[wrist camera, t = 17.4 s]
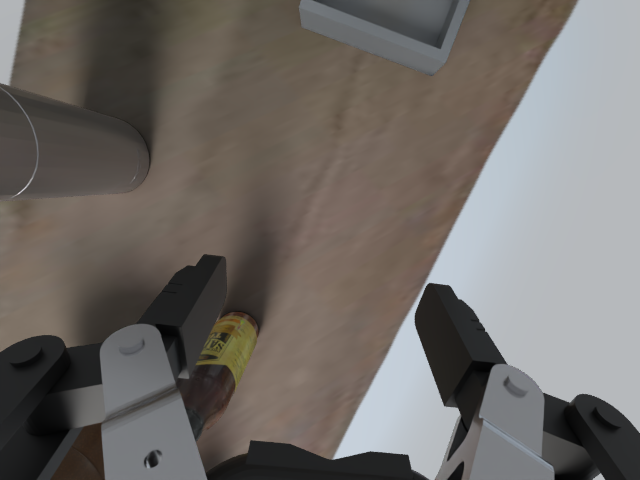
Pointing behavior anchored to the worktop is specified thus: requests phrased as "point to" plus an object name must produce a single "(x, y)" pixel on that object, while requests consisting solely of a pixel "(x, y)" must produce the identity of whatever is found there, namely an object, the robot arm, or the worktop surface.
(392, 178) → the worktop surface
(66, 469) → the plant pot
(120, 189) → the robot arm
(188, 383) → the sauce bottle
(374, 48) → the box
